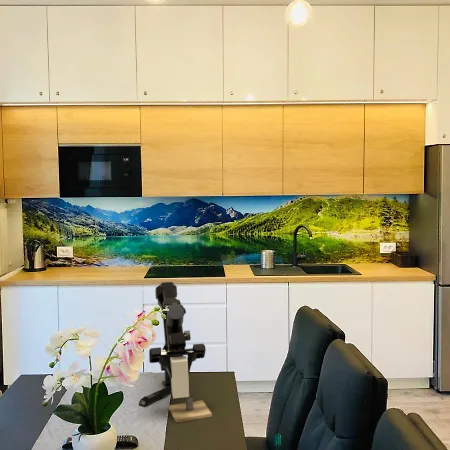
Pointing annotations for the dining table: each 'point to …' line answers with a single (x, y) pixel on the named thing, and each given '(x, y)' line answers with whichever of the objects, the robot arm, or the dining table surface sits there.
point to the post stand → (189, 410)
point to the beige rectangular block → (179, 377)
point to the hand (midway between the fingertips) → (180, 376)
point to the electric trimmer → (155, 396)
